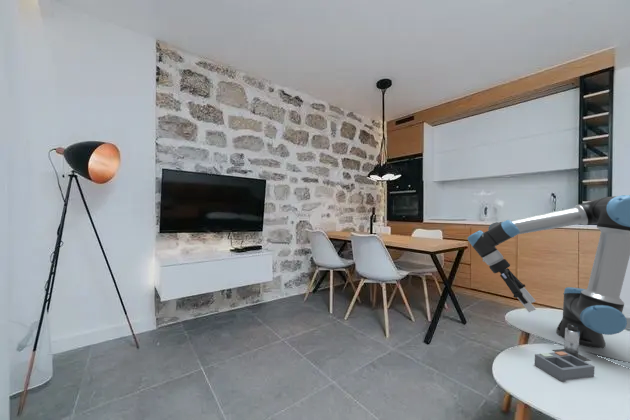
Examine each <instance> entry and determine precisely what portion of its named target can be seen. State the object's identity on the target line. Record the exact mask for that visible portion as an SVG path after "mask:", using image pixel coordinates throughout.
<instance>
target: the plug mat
mask: <svg viewBox="0 0 630 420" xmlns="http://www.w3.org/2000/svg"><path fill="white" fill-rule="evenodd" d="M551 351H552V352H553V353H554V352H561V351H563V352H564V348H561V349H560V348H559V349H551ZM578 358H579V359H581V360H583V361H585V362H589V361H592V360H591V359H589V358H587V357H586V356H583V355H581V354H579V353H578Z"/></svg>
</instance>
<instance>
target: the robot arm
mask: <svg viewBox="0 0 630 420" xmlns="http://www.w3.org/2000/svg"><path fill="white" fill-rule="evenodd" d="M575 225H583V226H589V225H596V228H597V229H598V230H599V231H600V235H599V238H598V239H599V240H598V244H597V248H596V251H595V256H594V259H593V264H592V268H591V271H590V276H589V280H588V284H587V288H580V287H569V286H568V287H565V288H564V292H563V301H562V302H563V304H562V317H561V320H560V322H559V324H558V326H557V328H556V334H557V335H558V336H559V337H561V338H562V339H564V340H565V328H568V324H574V325H577V326H578V331H579V332H580V336H579V346H583V347H588V348H594V349H596V348H597V349H603V348H604V347H605V348H606V340H605V338H604V335H607V336H609V335H610V336H612V335H616V334H619V333H621V332H623V331H624V330H625V329H626V327H627V325H628V320H627V317H626V316H625V314H624V313H623V311H624V308H625V302H624V301H623V300H622V298H621V292H622V288H623V285H624V281H625V276H626V273H627V270H628V265H629V260H630V194H628V195H623V194H622V195H616V196H605V197H601V198H598V199H594V200H592V201H591V200H590V201H588V202H583V203H579V204H576V205H574V207H571V208H565V209H560V210H555V211H554V210H553V211H549V212H544V213H540V214H536V215H535V214H534V215H528V216H525V217H518V218H515V219H507V220H504V221H500V222H499V221H498V222H497V221H496V222H492V223H491V224H490V225H489V226H488V229H487V230H486V231H482V230H478V231H475V232H474V233H471V234H470V235H469V236H467V241H468V242H469V244H470V245H471V247H472V248H473V249H474V251H475V252H476V253H477V254H478V255H479V256H480V258H482V262H484V263H486V264H485V265H487V266H488V267H489V269H490V270H491V271H492V273H493V274H498V273H500V275H499V277H501V279H502V280H503V282H504V283H505V285H506V286H507V287H508V288H509V290H510V292H511V293H512V294H513V298H514V299H516V298H517V299H518V301H519V302H520V303H521V305H523V307H524V308H525V309H526V311H527V312H528V313H531V312H534V311H536V310H537V309H536V307H535V306H534V305H533V304H532V303H535V302H536V299H535V298H534V297H533V296H532V295H531V293H530V292H529V291H528V290H527V289H526V284H523V283H522V282H521V281H520V280H519V279H518V277H517V276H515V274H514V273H513V272H512V271H511V270H510V269H509V267H510V266H511V264H510V263H509V262H508V260H507V259H506V258H504V256H503V254H502V253H501V251H499V249H497V246H498V245H500V244H502V243H505V242H506V241H508V240H510V239H512V238H514V237H516V236H519V235H524V234H529V233H534V232H535V233H536V232H541V231H546V230H552V229H557V228H558V229H559V228H563V227H571V226H575ZM605 348H604V349H605Z"/></svg>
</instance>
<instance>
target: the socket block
mask: <svg viewBox="0 0 630 420" xmlns="http://www.w3.org/2000/svg"><path fill="white" fill-rule="evenodd" d="M533 365H534V366H536V367H537V368H538V369H541V370H542V371H544V372H545V373H546V374H549V375H550V376H552V377H554V378H555V379H556V380H558V381H560V382H566V381H568V380H571V381H572V380H577V379H584V378H593V377H595V366H594V365H592V364H590V363H588V361H583V360H581V359H579V358H577V357H575V356H573V355H571V354H569V353H567V352H565V351H564V352H563V351H561V352H554V351H553V352H542V353H535V354H534V364H533Z"/></svg>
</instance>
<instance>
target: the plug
mask: <svg viewBox="0 0 630 420" xmlns="http://www.w3.org/2000/svg"><path fill="white" fill-rule="evenodd" d="M579 336H580V332H579V331H578V326H577V325H574V324H568V328H565V339H564V341H563V342H564V343H563V344H564V345H563V349H564V351H565V352H567V353H569V354H571V355H573V356H575V357H577V358H578V354H579V353H580V352H579V351H580V344H579Z"/></svg>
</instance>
